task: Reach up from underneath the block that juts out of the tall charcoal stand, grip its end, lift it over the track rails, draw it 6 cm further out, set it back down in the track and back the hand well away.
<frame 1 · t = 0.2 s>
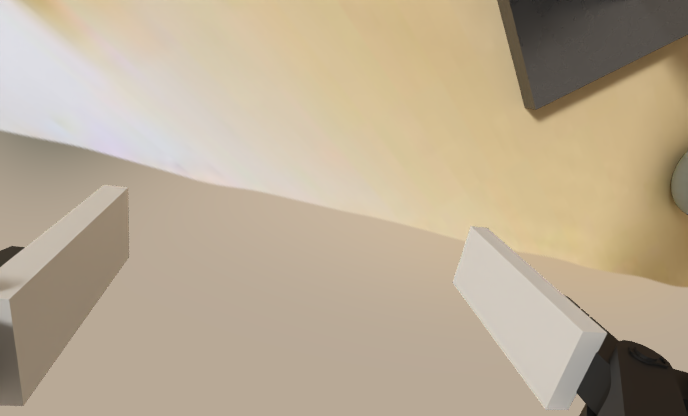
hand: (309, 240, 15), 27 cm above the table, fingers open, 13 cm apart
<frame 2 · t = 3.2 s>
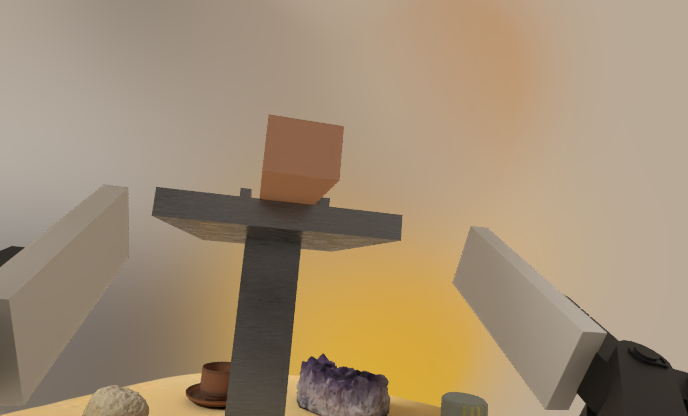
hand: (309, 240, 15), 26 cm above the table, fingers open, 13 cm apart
geode: (336, 415, 72), on the table
cup and saucer: (218, 402, 73), on the table
block: (278, 218, 40), point 30 cm above the table, touching stand
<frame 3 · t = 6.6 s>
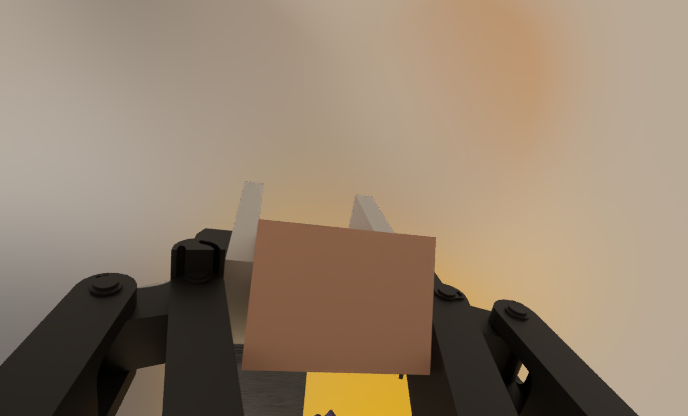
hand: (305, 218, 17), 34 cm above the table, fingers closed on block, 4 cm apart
block: (279, 295, 28), point 30 cm above the table, touching gripper, stand
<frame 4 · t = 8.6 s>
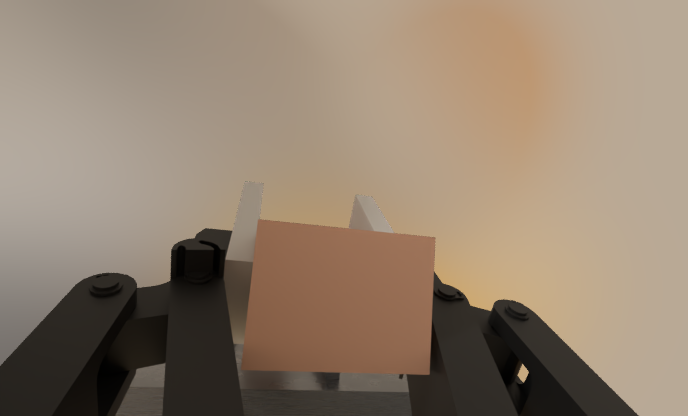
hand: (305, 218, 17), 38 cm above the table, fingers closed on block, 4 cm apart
block: (279, 295, 28), point 34 cm above the table, touching gripper
when the fingers open (35 cm above the table, at t = 10.0 s): block drops 1 cm, resting on stand.
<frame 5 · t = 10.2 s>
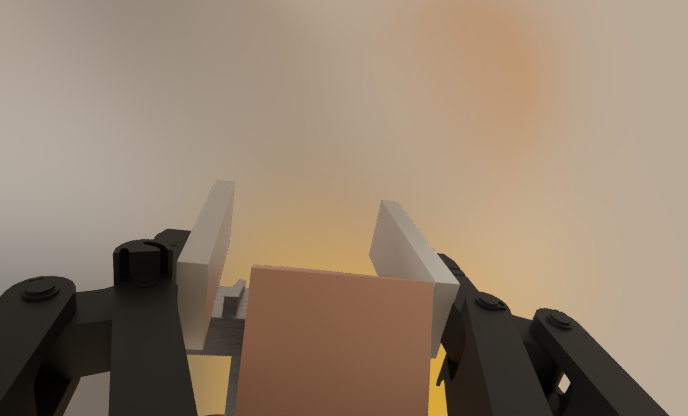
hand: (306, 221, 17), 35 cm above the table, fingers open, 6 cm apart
block: (277, 310, 27), point 30 cm above the table, touching stand
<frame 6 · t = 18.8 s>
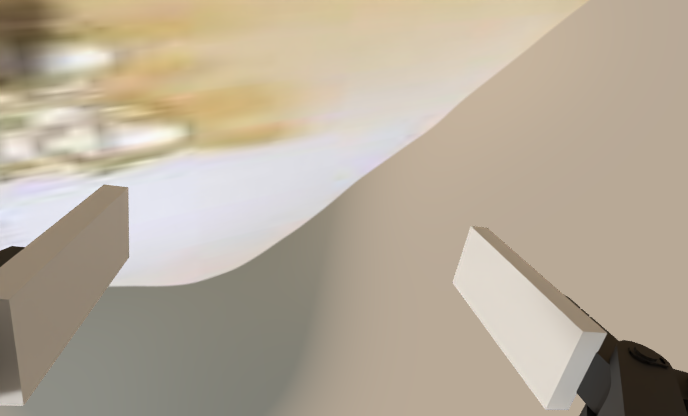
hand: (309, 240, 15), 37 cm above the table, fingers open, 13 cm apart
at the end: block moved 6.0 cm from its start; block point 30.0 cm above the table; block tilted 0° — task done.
